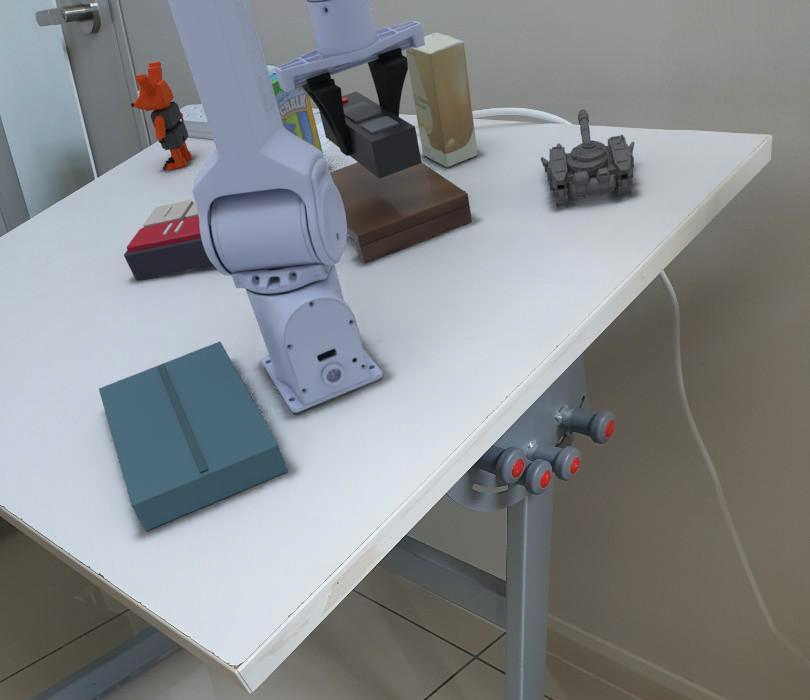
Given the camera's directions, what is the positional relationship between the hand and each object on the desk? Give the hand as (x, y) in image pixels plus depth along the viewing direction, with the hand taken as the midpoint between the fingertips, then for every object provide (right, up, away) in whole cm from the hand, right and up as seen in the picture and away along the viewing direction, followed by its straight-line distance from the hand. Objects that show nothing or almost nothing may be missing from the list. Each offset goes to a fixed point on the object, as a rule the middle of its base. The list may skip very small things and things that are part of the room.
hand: (370, 144), depth 88 cm
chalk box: (-12, +4, +19) cm, 23 cm away
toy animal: (-28, +11, +32) cm, 44 cm away
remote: (0, 0, 0) cm, 0 cm away
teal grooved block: (-13, -32, -19) cm, 40 cm away
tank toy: (+22, -4, +1) cm, 23 cm away
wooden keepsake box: (+1, -5, +5) cm, 8 cm away
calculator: (-18, -8, +8) cm, 21 cm away
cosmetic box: (+9, +5, +14) cm, 17 cm away
